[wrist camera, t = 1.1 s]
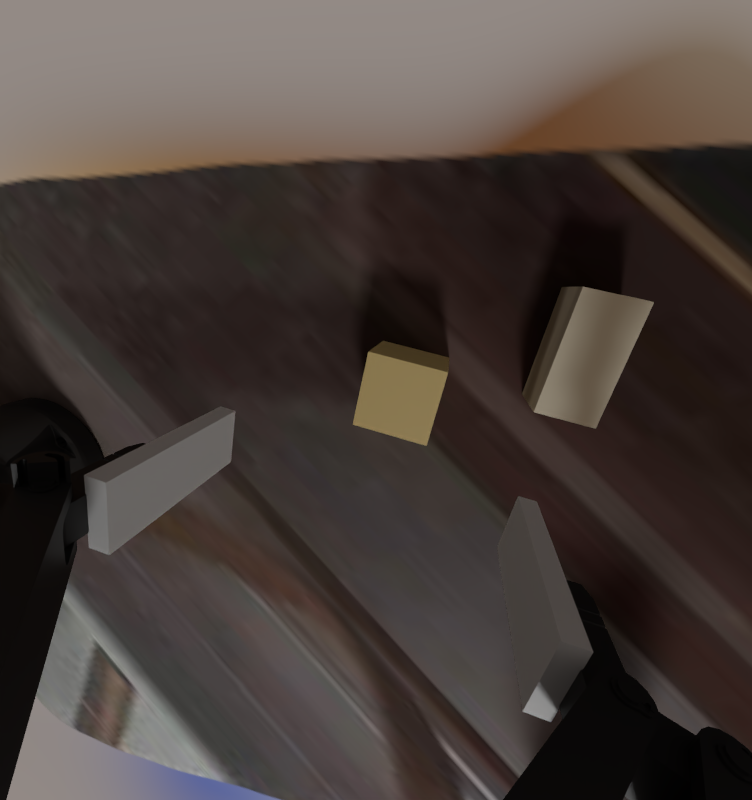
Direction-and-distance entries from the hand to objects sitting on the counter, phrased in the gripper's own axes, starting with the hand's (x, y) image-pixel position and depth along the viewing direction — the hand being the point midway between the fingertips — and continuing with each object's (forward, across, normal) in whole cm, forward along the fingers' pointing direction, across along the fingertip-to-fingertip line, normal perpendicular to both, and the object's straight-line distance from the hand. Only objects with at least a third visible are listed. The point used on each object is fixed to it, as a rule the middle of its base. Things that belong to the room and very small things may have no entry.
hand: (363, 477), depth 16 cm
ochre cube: (+18, 0, 0) cm, 18 cm away
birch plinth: (+18, +12, +6) cm, 22 cm away
